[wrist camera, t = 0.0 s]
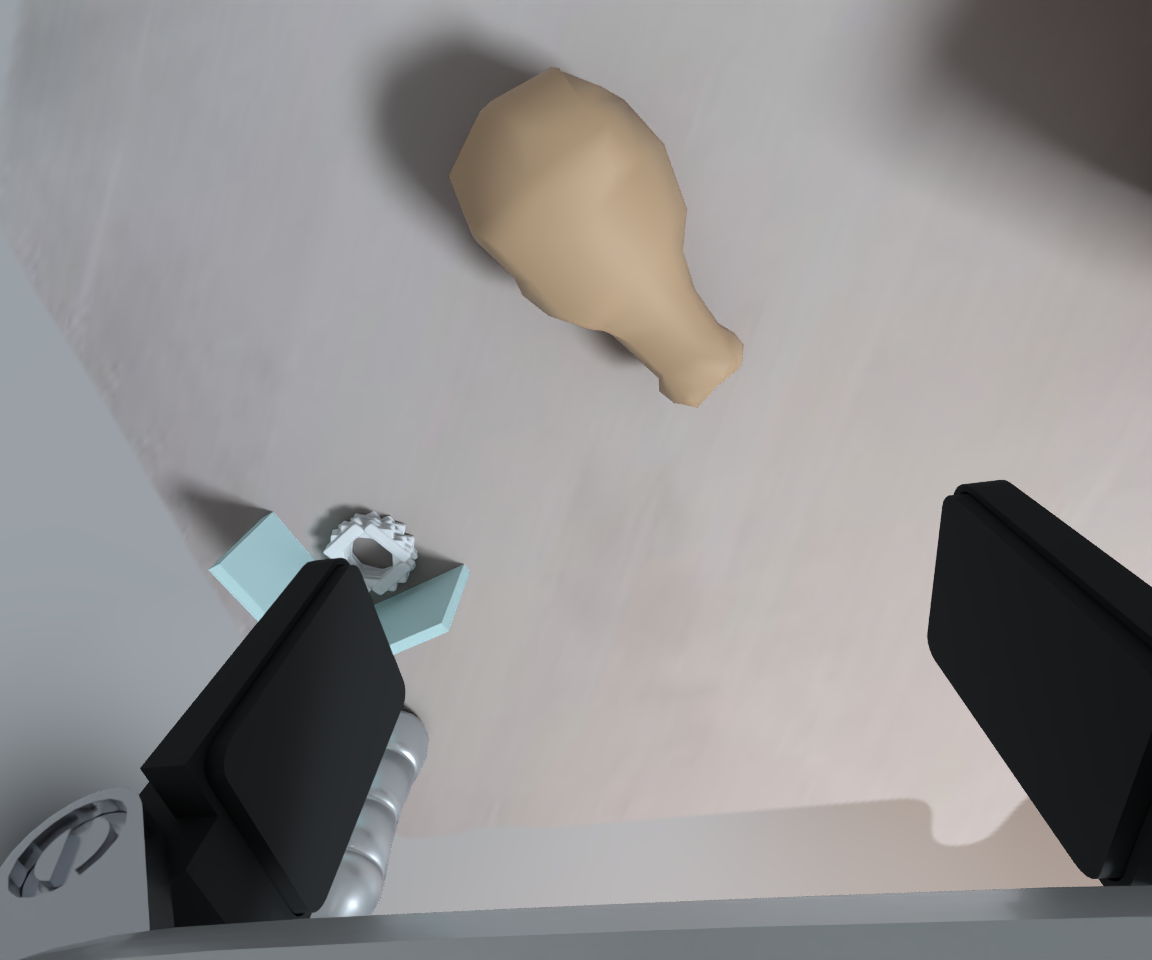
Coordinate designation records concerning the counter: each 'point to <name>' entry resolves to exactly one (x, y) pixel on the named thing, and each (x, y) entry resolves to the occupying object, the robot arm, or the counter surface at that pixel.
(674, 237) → the squash
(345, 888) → the plastic bottle
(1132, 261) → the counter surface
